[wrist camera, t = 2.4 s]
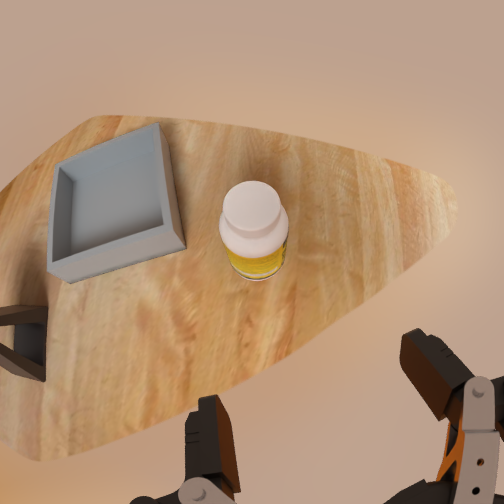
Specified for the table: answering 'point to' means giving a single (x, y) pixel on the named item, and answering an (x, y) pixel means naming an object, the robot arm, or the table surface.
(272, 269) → the supplement bottle
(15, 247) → the table surface
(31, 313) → the phone stand
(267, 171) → the table surface
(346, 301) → the table surface
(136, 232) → the bin
